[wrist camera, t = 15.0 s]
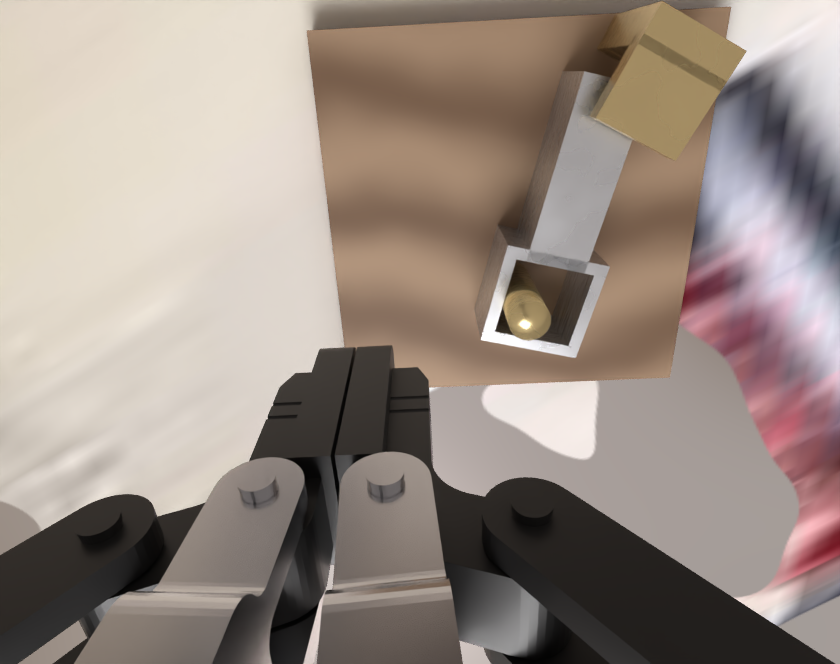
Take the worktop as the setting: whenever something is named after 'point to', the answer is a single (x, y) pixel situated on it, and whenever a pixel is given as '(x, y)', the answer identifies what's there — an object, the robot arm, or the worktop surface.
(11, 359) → the worktop surface
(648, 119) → the block
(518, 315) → the cylinder
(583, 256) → the link
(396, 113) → the board
